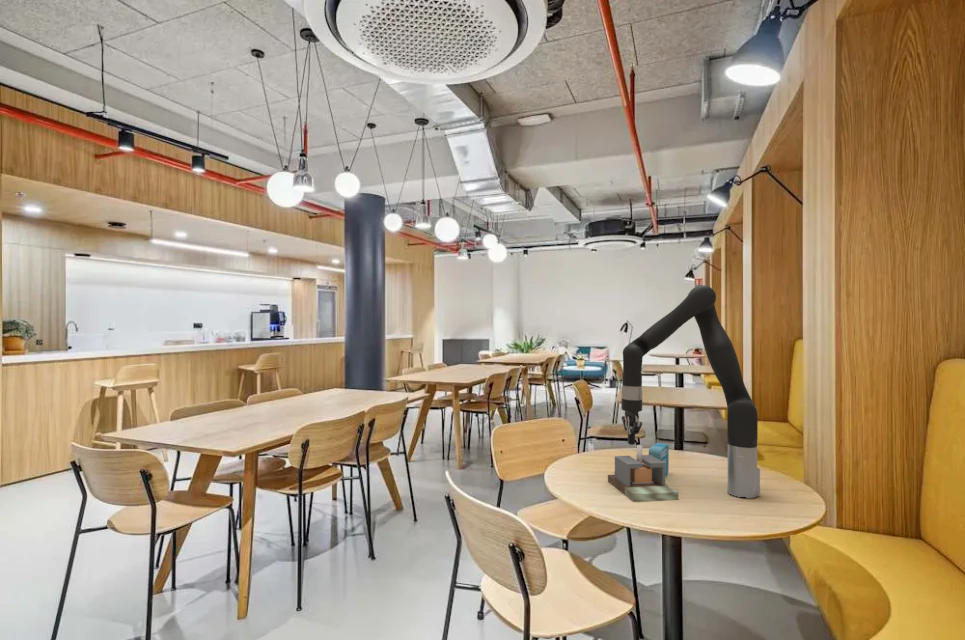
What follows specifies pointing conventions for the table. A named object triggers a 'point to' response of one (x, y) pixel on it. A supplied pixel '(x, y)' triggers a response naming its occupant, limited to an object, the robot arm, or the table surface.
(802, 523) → the table surface
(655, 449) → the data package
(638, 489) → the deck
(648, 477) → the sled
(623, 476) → the tunnel
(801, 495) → the table surface
